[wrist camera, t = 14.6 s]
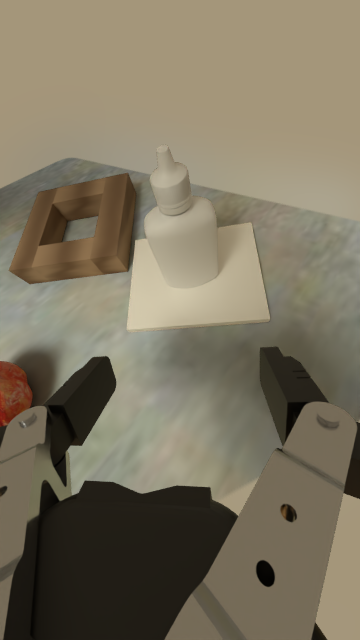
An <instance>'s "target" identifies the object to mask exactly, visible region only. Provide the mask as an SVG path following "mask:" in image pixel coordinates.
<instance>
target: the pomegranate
mask: <svg viewBox="0 0 360 640" xmlns="http://www.w3.org/2000/svg"><path fill="white" fill-rule="evenodd" d="M32 397H33V394H32V391H31V389H30V387H29V385H28V384H27V375H26V373H25V372H24V371H23V370H22V369H21V368H20V367H18V366H17V365H16V364H13V363H10V362H3V361H0V427H1V426H5V425H8V424H9V423H10V421H11V420H12V419H13V418H15V417H16V416H17V415H19V414H20V413H22V412H23V411H25V410H27V409H29V408H30V406H31V403H32Z"/></svg>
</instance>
